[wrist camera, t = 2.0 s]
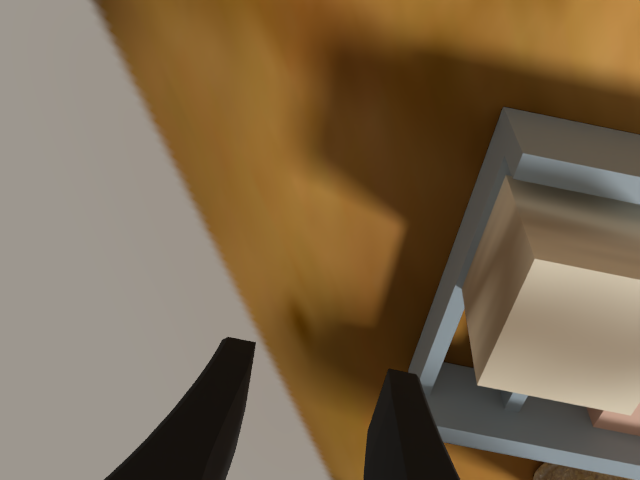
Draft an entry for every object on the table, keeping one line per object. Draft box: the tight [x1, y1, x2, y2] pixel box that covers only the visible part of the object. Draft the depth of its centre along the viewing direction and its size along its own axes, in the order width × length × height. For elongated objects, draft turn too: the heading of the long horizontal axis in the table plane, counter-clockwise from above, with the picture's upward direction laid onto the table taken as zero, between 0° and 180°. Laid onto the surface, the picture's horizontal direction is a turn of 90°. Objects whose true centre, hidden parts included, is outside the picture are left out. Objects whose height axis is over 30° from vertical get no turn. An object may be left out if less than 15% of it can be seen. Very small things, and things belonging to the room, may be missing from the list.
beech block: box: [462, 175, 640, 416], centre depth 18 cm, size 4×4×4 cm
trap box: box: [408, 107, 640, 480], centre depth 22 cm, size 12×13×4 cm
